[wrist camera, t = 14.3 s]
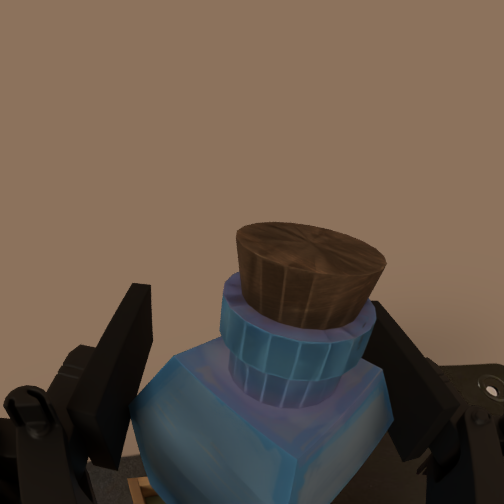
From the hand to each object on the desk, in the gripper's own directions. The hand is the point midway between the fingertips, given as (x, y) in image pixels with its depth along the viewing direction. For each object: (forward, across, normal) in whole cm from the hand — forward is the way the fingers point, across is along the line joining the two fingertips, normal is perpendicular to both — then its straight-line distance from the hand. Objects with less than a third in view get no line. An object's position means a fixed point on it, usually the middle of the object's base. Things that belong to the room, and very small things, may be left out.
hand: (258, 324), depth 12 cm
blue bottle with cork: (-5, 0, -7) cm, 9 cm away
